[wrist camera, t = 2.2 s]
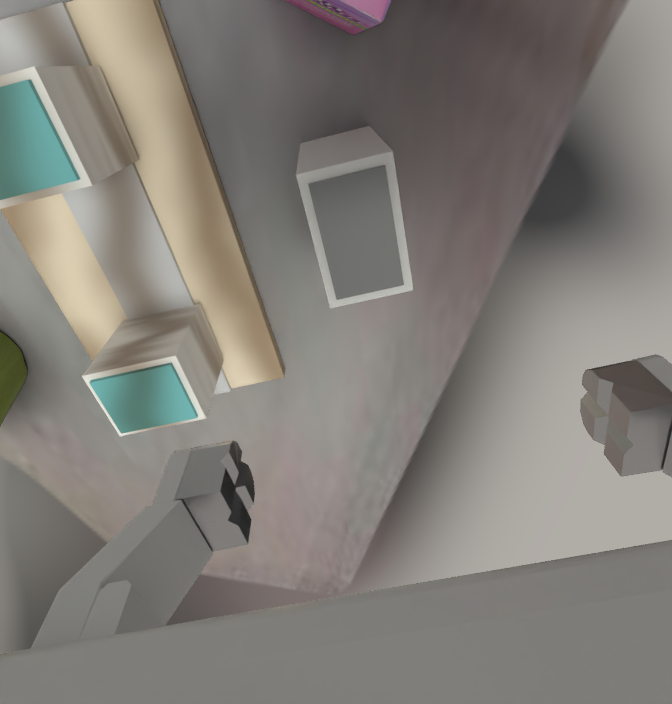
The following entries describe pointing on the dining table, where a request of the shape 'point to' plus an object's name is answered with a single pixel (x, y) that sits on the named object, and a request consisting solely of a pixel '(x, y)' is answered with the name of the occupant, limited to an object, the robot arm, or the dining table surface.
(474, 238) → the dining table surface
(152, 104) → the board
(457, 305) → the dining table surface
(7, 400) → the plant pot
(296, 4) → the box
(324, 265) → the block
